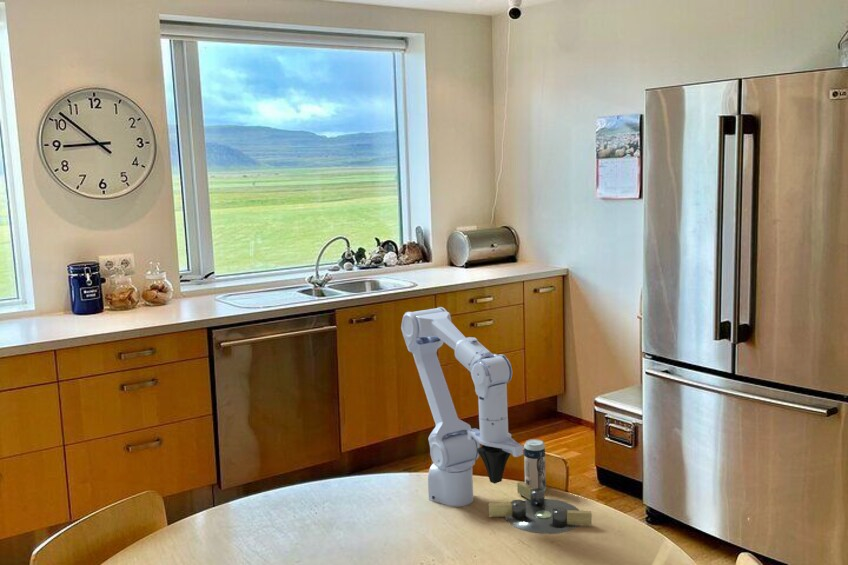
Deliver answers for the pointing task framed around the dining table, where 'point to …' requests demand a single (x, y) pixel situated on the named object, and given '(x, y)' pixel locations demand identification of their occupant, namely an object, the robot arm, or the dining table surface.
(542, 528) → the base plate
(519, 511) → the inner lever
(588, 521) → the outer lever
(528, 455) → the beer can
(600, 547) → the dining table surface
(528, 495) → the rear lever
